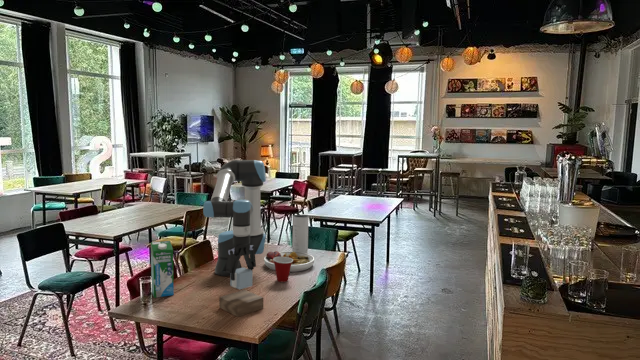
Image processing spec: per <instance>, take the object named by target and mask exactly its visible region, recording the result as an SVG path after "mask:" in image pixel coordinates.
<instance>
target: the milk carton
mask: <svg viewBox="0 0 640 360" xmlns="http://www.w3.org/2000/svg"><path fill="white" fill-rule="evenodd" d="M150 269H151V272H150V274H151V277H150V279H151V278H152V284H151V294H152V296H153V299H156V298H162V297H168V296H169V297H170V296H174V293H175V290H174V287H175V286H174V284H175V283H174V249H173V245H172V242H171V240H165V241H152V242H150Z"/></svg>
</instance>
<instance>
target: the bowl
mask: <svg viewBox="0 0 640 360" xmlns="http://www.w3.org/2000/svg"><path fill="white" fill-rule="evenodd" d="M275 257H288V258H291V259H293V262H292V264H291V267H290V273H295V272H296V273H297V272H303V271H305V270H308V269H310V268H312V266H313V265H314V263H315V257H314V256H313V255H311V254H309V253H308V254H306V253H301V252H292V251H278V250H275V251H268V252H267V253H266V255H265V256H264V258H263V262H264V265H265V267H267V268H268V269H270V270H272V271H275V272H276V270H275V264H274V260H273V258H275Z"/></svg>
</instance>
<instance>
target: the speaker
mask: <svg viewBox="0 0 640 360" xmlns="http://www.w3.org/2000/svg"><path fill="white" fill-rule="evenodd" d="M309 219H310V217H309V215H307V214H293V216H292V244H291V245H292V246H291V247H292V249H291V250H292V251H291V252H301V253H306V254H309V248H308V247H309Z"/></svg>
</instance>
